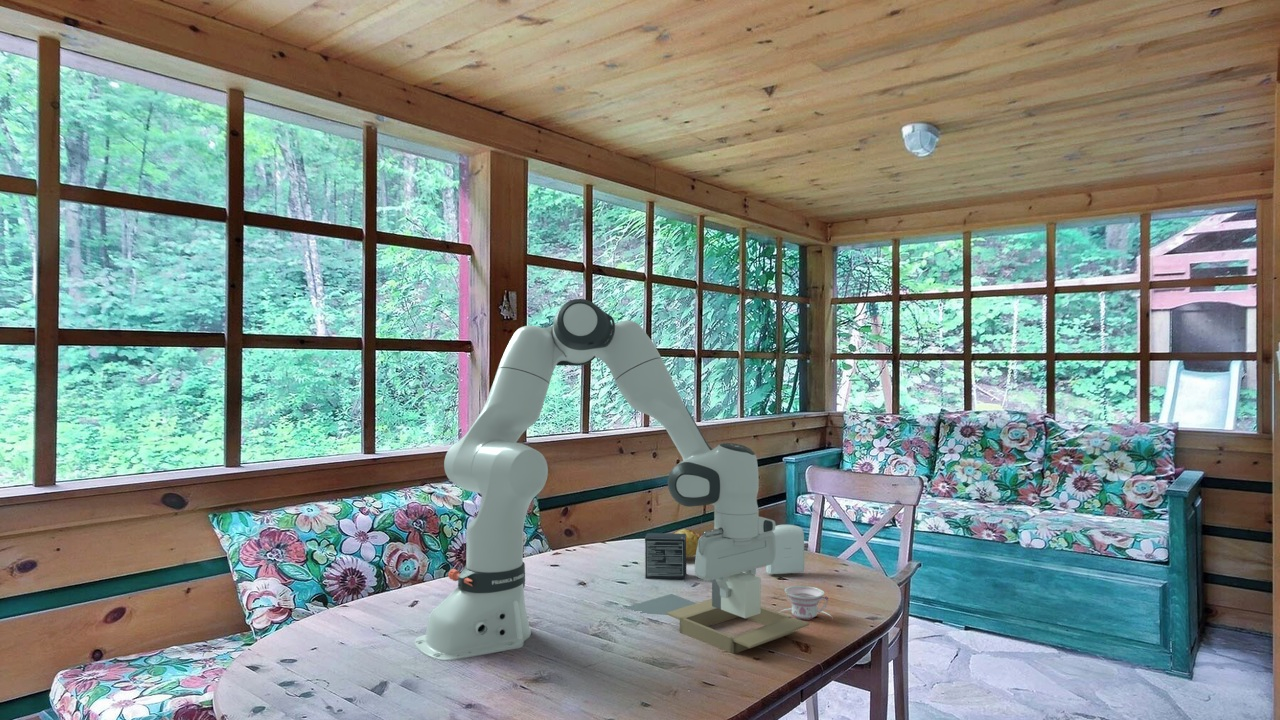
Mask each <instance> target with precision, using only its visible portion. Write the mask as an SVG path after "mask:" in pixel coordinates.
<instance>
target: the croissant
mask: <svg viewBox="0 0 1280 720" xmlns="http://www.w3.org/2000/svg"><path fill="white" fill-rule="evenodd" d="M673 534H686V558H689V557H694V556H696V551H697V546H698V540H699V538H700V537H701V535H702V534H699V533H695V532H694V531H693V530H690V529H685V528H683V529H678V530H677V531H676V532H674V533H673ZM703 537H704V536H703Z"/></svg>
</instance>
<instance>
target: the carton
mask: <svg viewBox="0 0 1280 720" xmlns="http://www.w3.org/2000/svg"><path fill="white" fill-rule="evenodd" d="M695 603H696V604H693V605H690V606H686V607H683V608H680V609H677V610H673V611H670V612H667V613H666V615H665V616H668V617H672V618H674V619H675V620H676V619H677V620H679V633H680V634H681V635H684V636H686V635H687V637H689V638H693V639H694V640H696V641H700V642H702V643H705V644H707V645H710V646H711V647H715V648H718V649H721V650H722V651H725V652H728V653H730V654H733V655H734V654H738V653H740V652H743V651H746V650H749V649H752V648H755V647H757V646H760V645H764V644H766V643H768V642H772V641H775V640H778V639H780V638H783V637H786V636H789V635H792V634H794V632H796V631H798V630H800V629H804V628H805V627H808V626H810V622H809V621H808V622H807V621H806V620H802V619H798V618H797V617H794V616H793V617H792V616H790V615H787V614H785V613H781V612H780V613H779V611H776V610H773V609H770V608H766V607H763V606H761V613H760V614H757V615H754V616H751V617H748V618H743V617H740V616H737V615H735V614H732V613H729V612H726V611H724V610H721V609H718V608H716V607H713V606H712V598H709V599H706V600H702V601H699V602H695ZM737 618H741V619H745V620H748V621H750V622H753V623H757V624H760V625H763V626H760V627H757V628H755V629H752V630H750V631H747V632H743V633H741V634H739V635H736V636H732V635H729V634H726V633H724V632H722V631H719V630H716V629H715V628H714V629H713V628H712V627H710V626H714V625H717V624H720V623H723V622H727V621H730V620H734V619H737Z"/></svg>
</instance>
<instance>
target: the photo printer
mask: <svg viewBox="0 0 1280 720" xmlns="http://www.w3.org/2000/svg"><path fill="white" fill-rule="evenodd" d="M772 532H773V533H774V535H775V542H776V553H775V559H774V562H773V563H772V564H771V565H767V566H765V567H766V569H765V570H766V573H767V574H769V575H774V574H775V575H777V574H778V575H779V574H791V573H792V574H793V573H794V574H795V573H804V572H805V533H804V529H803V527H801V526H798V525H795V524H778V525H775V530H774V531H772Z"/></svg>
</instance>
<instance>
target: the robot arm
mask: <svg viewBox="0 0 1280 720" xmlns="http://www.w3.org/2000/svg"><path fill="white" fill-rule="evenodd" d="M595 358H597V359H599V360H601V361H602V362H603V363H604V364H605V365H606V366H607V368H608V369H609V371H610V373H611V376H612V378H613V380H614V382H615V384H616V386H617V388H618V390H619V393H621V395H622V396H623V398H624V400H625V401H626V402H627V403H628V405H630V407H631V408H632V409H633V410H636V411H637V412H640V413H642V414H645V415H647V416H649V417H652V419H654V420H656V421H657V422H658V423H660V425H662V426H663V428H665V430H666V432H667V433H668V435H669V437H670V439H671V440H672V443H673V444H674V446H675V447H676V449H677V451H678V452H679V455H680V456H681V458H682V461H680V462H679V463H677V464H676V465H675V466H673V468H672V469H671V470H670V472H669V475H668V479H667V488H668V492H669V494H670V496H671V497H672V498H673V500H674V501H675V502H676V503H678V504H679V505H681V506H684V507H691V508H692V507H693V508H695V507H702V506H709V505H712V506H713V509H714V512H713V514H714V515H713V517H714V518H713V520H714V523H713V524H714V525H713V526H714V527H713V529H711V530H705V531H704V532H703V534H700V535H701V537H700V538H699V540H698V546H697V551H696V555H695V561H694V574H695V576H696V577H697V578H699V579H700V580H703V581H707V582H710V581H711V582H712V580H714V579H716V582H717V584H718V586H719V588H720V596H721V597H723V598H728V597H731V588H728V586H727V583H726V581H728V576H730V575H733V574H737V573H741V572H743V573H746V574H749V575H753V576H756V574H757V569H759V568H762V567H766V566H767V565H771V564H772V563H773V562H774V559H775V553H776V542H775V535H774V533H773V532H772V531H774V530H775V526H777V525H776V521H775V520H773V519H770V518H767V517H763V516H761V515H759V512H760V511H759V506H758V499H757V498H758V495H759V494H758V492H759V490H760V489H759V488H760V487H759V486H760V485H759V483H760V482H759V479H760V477H759V466H758V459H757V456H756V454H755V452H754V451H753V449H751V448H750V447H747V446H746V445H742V444H738V443H730V442H723V443H719V444H718V445H717V446H716V447H714V448H712V447H711V446H710V444H709V443H708V442H707V440H706V438H705V437H704V434H702V432H701V429H700V428H699V427H698V425H697V423H696V421H695V420H694V417H693V416H692V414H691V413H690V410H689V409H688V408H687V406H686V404H685V402H684V401H683V399H682V397H681V395H680V393H679V391H678V389H677V387H676V385H675V383H674V381H673V379H672V377H671V375H670V372H669V369H668V368H667V365H666V364H665V362H664V360H663V358H662V356H661V354H660V352H659V350H658V349H657V347H656V346H655V344H654V342H653V340H652V339H651V338H650V336H649V335H648V334H647V332H646V331H645V330H644V329H643V327H642V326H641V325H640V324H639V323H638V322H635V321H633V320H621V321H618V322H615V320H614V317H613V316H612V315H610V314H608V313H607V312H606V311H604V310H603V309H601V308H600V307H599V306H598V305H597V304H595V303H594V302H592V301H590V300H588V299H584V298H574V299H571V300H568V301H567V302H565V303H564V304H562V305H561V307H559V309H558V310H557V312H556V313H555V316H554V317H553V324H552V325H550V326H548V327H547V326H546V327H541V326H537V325H524V326H521V327H519V328H518V329H516V331H515V332H513V335H512V336H511V338H510V339H509V342H508V344H507V346H506V348H505V350H504V352H503V355H502V357H501V359H500V362H499V364H498V367H497V370H496V372H495V376H494V379H493V383H492V385H491V387H490V390H489V393H488V396H487V399H486V401H485V404H484V406H483V408H482V410H481V411H480V413H479V415H478V416H477V418H476V419H475V421H474V422H473V424H472V425H471V426H470V427H469V429H468V431H467V432H466V433H465V435H464V436H463V437H462V438H460V439H459V440H458V441H457V442H455V443H454V444H452V445H451V446H450V447H449V449H448V450H447V452H446V454H445V457H444V461H443V462H444V463H443V465H444V466H443V468H444V473H445V475H446V477H447V478H448V480H449V481H450V482H451V483H453V484H454V485H456V486H458V487H459V488H460V489H463V490H465V491H467V492H472V493H476V494H481V501H480V506H479V508H478V509H479V510H478V512H477V515H476V516H475V518H473V519H472V520H471V521H469V523H468V525H467V527H466V531H465V533H466V536H465V538H466V539H465V540H466V541H465V542H466V543H465V544H466V547H465V548H466V550H465V551H466V552H465V553H466V554H465V555H466V557H465V558H466V563H465V565H464V567H463V570H462V571H461V572H460V571H459V570H457V569H456V568H450V570H449V572H448V574H447V577H448V578H449V579H450V580H452V582H453V581H454V582H457V587H455V589H454V590H453V591H452V592H451V593H449V595H448V596H447V597H445V599H443V600H442V602H440V603H439V604H438V605H437V606H436V607H435V608H433V610H432V611H431V612H430V614H429V616H428V619H427V624H426V631H425V634H423V635H420V636H418V637H416V638H415V640H414V647H415V649H416V650H417V651H418V652H419V653H421V654H422V655H424V656H425V657H428V658H431V659H434V660H438V661H445V662H448V661H454V660H459V659H465V658H471V657H477V656H482V655H489V654H494V653H498V652H504V651H509V650H510V651H511V650H517V649H521V648H522V647H523V646H524V644H525V641H526V640H528V638H530V637H531V636H532V635H531V634H532V629H531V627H530V624H529V619H528V614H527V608H526V603H525V602H526V601H525V592H524V589H525V585H526V564H525V562H524V561H523V560H524V559H523V557H524V555H523V553H524V549H523V548H524V527H525V521H526V516H527V513H528V511H529V507H530V505H531V503H532V502H533V499H534V498H535V497H537V495H538V494H539V493H541V491H542V490H543V489H544V487H545V485H546V483H547V479H548V476H549V475H548V474H549V468H548V463H547V462H548V461H547V459H546V458H545V456H544V455H543V454H542V453H541V452H540V451H538V450H537V449H535V448H533V447H531V446H530V445H529V446H528V445H526V444H524V443H521V442H518V441H519V439H520V437H521V436H522V435H523V434H524V433H525V432H526V430H528V429H529V428H531V427H532V426H533V425H535V424H536V423H537V422H538V420H539V418H540V417H541V412H542V409H543V406H544V402H545V399H546V395H547V393H548V389H549V386H550V383H551V379H552V378H553V377H552V376H553V374H554V371H555V368H556V366H561V367H562V366H571V367H573V366H574V367H578V366H579V367H581V366H585V365H587V364H589V363H591V362H593V360H594V359H595ZM703 536H704V537H703Z"/></svg>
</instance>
